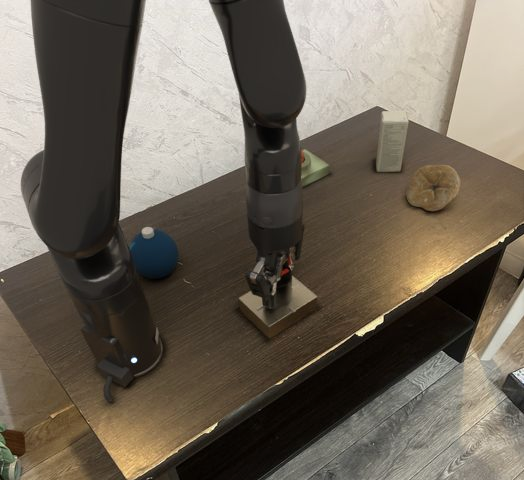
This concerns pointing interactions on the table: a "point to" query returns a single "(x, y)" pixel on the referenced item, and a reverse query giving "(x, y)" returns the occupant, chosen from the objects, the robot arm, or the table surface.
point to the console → (279, 309)
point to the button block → (312, 168)
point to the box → (391, 141)
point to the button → (302, 156)
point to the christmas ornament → (154, 253)
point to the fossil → (433, 187)
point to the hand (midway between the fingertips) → (277, 295)
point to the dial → (283, 288)
